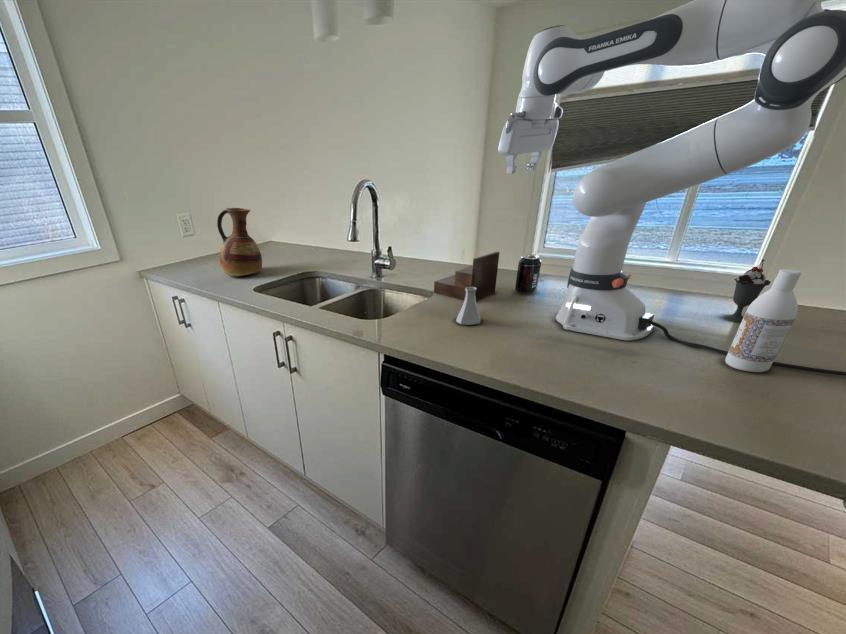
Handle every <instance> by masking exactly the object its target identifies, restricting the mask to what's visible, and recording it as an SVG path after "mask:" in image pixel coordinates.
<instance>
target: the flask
mask: <svg viewBox="0 0 846 634" xmlns="http://www.w3.org/2000/svg"><path fill="white" fill-rule="evenodd" d="M476 290H477V288H476V287H466V288H465V291H466V296H465V300H463V303H462V307H461V308H460V310H459V312H458V315H457V317H456V320H455V322H456V323H458V324H460V325H468V326H473V325H479V324H481V321H482V319H481V318H482V317H481V316H480V312H479V308H478V305H477V300H476V298H475V291H476Z"/></svg>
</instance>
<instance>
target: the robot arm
mask: <svg viewBox="0 0 846 634" xmlns="http://www.w3.org/2000/svg"><path fill="white" fill-rule="evenodd" d="M751 54H759V55H762V56H764V57H763V60H762V62H761V65H760V68H759V73H758V79H757V84H756V88H755V92H754V96H753V100H751V101H750V102H748V103H746V104H744V105H743V106H741V107H738V108H737V109H734V110H732V111H729V112H727V113H725V114H723V115H721V116H718V117H715V118H713V119H711V120H709V121H706V122H705V123H702V124H699V125H698V126H696V127H693V128H691V129H689V130H687V131H684V132H682V133H680V134H678V135H675V136H673V137H671V138H668V139H666V140H664V141H661V142H658V143H655V144H653V145H650V146H647V147H645V148H643V149H640V150H638V151H635V152H633V153H630V154H628V155H626V156H623V157H620V158H618V159H616V160H614V161H610V162H609V163H606V164H604V165H602V166H599V167H597V168H595V169H594V170H592V171H590V172H588V174H586V175H585V176H583V177H582V178H581V179H580V180H579V181H578V183H577V184H576V186H575V188H574V191H573V193H572V194H573V195H572V196H573V197H572V201H573V206H574V208H575V209H576V211H577V212H578V213H580V214H581V215H582V216H586V217H590V218H589V219H588V222H587V225H586V226H585V228H584V230H583V231H582V233H581V234H580V236H579V238H578V240H577V246H576V251H575V255H574V260H573V265H572V267H571V268H570V270H569V274H568V279H567V285H566V288H567V290H566V293H565V296H564V299H563V302H562V305H561V307H560V308H559V311H558V312H557V314H556V316H555V320H556V321H557V322H558V324H561V325H562V328H563V329H564V330H566V331H571V332H578V333H584V334H588V335H592V336H593V335H594V336H598V337H604V338H610V339H616V340H621V341H627V342H629V341H636V340H639V339H643V338H645V337H647V336H649V335H650V334H651V333H652V332H653V330H654V327H657V328H658V329H660V330H661V331H663V334H664V335H665V337H666V338H667V339H669V340H671V341H673V342H676V343H678V344H679V343H680V344H683V345H685V346H689V347H694V348H700V349H703V350H707V351H710V352H714V353H719V354H722V355H725V356H727V354H728V352H729V350H724V349H721V348H716V347H712V346H709V345H705V344H700V343H695V342H689V341H685V340H681V339H679V338H677V337H675V336H673V335H671V334H670V333H669V330H668V329H667V328H666V326H664V325H662V324H660V323H658V322H655V321H653V320H654V318H655V314H654V313H650V312H647V309H646V304H645V303H644V302H643V301H642V300H641V299H640V298H638V296H636V295H635V294H634V293H633V292H632V291H631V289H629V288H628V287H627V284H628V281H629V280H631V278H632V277H631V276H632V274H628V275H627V274H626V273H625V271H623V267H624V263H625V260H626V255H627V252H628V248H629V246H630V242H631V239H632V236H633V234H634V231H635V230H636V227H637V225H638V223H639V221H640V219H641V216H642V214H643V212H644V209H645V207H646V204H647V203H649V202H651V201H656V200H658V199H661V198H663V197H667V196H670V195H672V194H675V193H679V192H681V191H684V190H687V189H689V188H693V187H695V186H698V185H701V184H704V183H707V182H710V181H713V180H715V179H719V178H721V177H724V176H727V175H730V174H732V173H735V172H738V171H741V170H743V169H746V168H748V167H750V166H753V165H755V164H758V163H760V162H762V161H765V160H767V159H769V158H771V157H773V156H776V155H777V154H779V153H781V152H783V151H785V150H787V149H789V148H791V147H793V146H795V145H796V144H798V143H799V142H800V141H801V140H802V139H803V137H804V136H805V135H806V134H807V132H808V129H809V128H810V126H811V122H812V104H813V102H814V100H815V98H816V97H817V96H818V95H819V94H820V93H821V92H822V91H824V90H825V89H827V88H830V87H831V86H833V85H835V84H837V83H839V82H840V81H842V80H843V79H845V78H846V10H845V9H844V10H843V9H828V8H825V9H823V8H822V0H691V1H689V2H687V3H684V4H682V5H680V6H677V7H675V8H673V9H671V10H669V11H666V12H663V13H661V14H659V15H656V16H654V17H652V18H650V19H647V20H644V21H641V22H637V23H634V24H632V25H628V26H625V27H623V28H619V29H615V30H613V31H609V32H606V33H602V34H600V35H597V36H593V37H590V38H584V37H581V36H579V35H578V34H576V33H574V31H572V30H571V29H570V27H569V26H567V25H564V24H562V25H561V24H558V25H554V26H550V27H546V28H544V29H542V30H540V31H538V32H537V33H536V34H535V35H534V36H533V38H532V40H531V41H530V44H529V46H528V49H527V53H526V57H525V61H524V67H523V71H522V75H521V78H522V79H521V80H522V81H521V82H522V84H521V89H520V92H519V94H518V98H517V103H516V105H515V111H513V112H512V113H510V115H509V117H508V118H507V119H506V122H505V123H504V125H503V127H502V131H501V134H500V139H499V143H498V147H497V152H498V155H500V156H506V157H505V161H506V166H507V167H506V174H509V175H512V174H515V173H516V171H517V166H516V160H517V156H518V155H522V154H531V156H532V157H531V159H530V161H529V162H527V167H526V170H527V171H535V170H536V169H537V164H538V162H539V161H540V159H541V157H542V154H543V152H547V151H550V150H551V149H552V147H553V146H554V143H555V141H556V137H557V134H558V133H557V132H558V129H559V119H562V116H563V113H564V109H563V108H562V107H561V106H560V105H559V104H558V103H557V102H556V98H557V96H558V95H577V94H582V93H585V92H588V91H590V90H591V89H592V88H594V87H595V86H596V85H597V84H598V83H599V82H600V80H601V79H602V78H603V76H604V74H605V72H609V71H612V70H615V69H620V68H623V67H624V68H625V67H628V66H636V65H637V66H638V65H652V66H662V67H663V66H664V67H673V68H683V67H695V66H702V65H708V64H713V63H717V62H722V61H725V60H729V59H732V58H736V57H741V56H745V55H751ZM771 366H774V367H781V368H784V369H785V368H786V369H793V370H799V371H806V372H812V373H820V374H827V375H836V376H843V377H844V376H845V377H846V371H841V370H833V369H825V368H819V367H811V366H804V365H799V364H798V365H797V364H790V363H783V362H778V361H773V363H772V365H771Z"/></svg>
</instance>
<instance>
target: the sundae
mask: <svg viewBox="0 0 846 634" xmlns="http://www.w3.org/2000/svg"><path fill="white" fill-rule="evenodd" d="M765 261H766V259H761V262H760V264H761V267H760V268H759V266H760V264H758V265H757V266H752V267H751V268H750V269H749V270H746V271H745V272H744V273H743V274H742V275H739V276H738V277H735V278H734V279H733V280H734V282H735V288H734V293H733V297H732V301H733V303H734V304H735V305H736V306H737V307H736V310H735V311H734V313H733V314H727V315H726V314H725V315H724V316H722V318H723V319H724V320H726V321H729V322H732V323H733V322H734V323H741V322H742V320H743V317H744V315H742V313H743V310H744V308H746V307H749V306H750V304H751V303H752V302H753V301H754V300H755V299H756V298H758V297H759V296H760V295H761V293H762V291H763V290H764V288H765V287H767V286H769V285H771V281H770V280H769V279H766V276H765V274H764V273H763V272H764V268H763V267H764V262H765Z"/></svg>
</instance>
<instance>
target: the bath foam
mask: <svg viewBox="0 0 846 634" xmlns="http://www.w3.org/2000/svg"><path fill="white" fill-rule="evenodd" d="M801 275H802V271H801V270H798V269H790V268H784V269H783V268H782V269H779V270H778V274H777V275H776V277H775V279H774V281H773V283H772V286H771V288H770V289H768V290H767V291H765V292H764V293H762V294H760V295H759V296H758V297H757V298H756V299H755V300H754V301H753V302H752V303H751V304H750V305H748V306H747V309H746V310H745V313H744V315H743V320H742V322H740V325H739V326H738V329H737V331H736V334H735V335H734V338H733V340H732V343H731V345H730V347H729V349H728V354H727V355H725V358H724V362H725V363H726V365H728V366H729V367H731V368H733V369H736V370H739V371H743V372H747V373H749V372H750V373H764V372H767V371H769V370H770V368H771V367H772V366H773V365H772V363H773V362H775V359H776V358H777V355H778V354H779V352H780V349H781V348H782V346H783V344H784V341H785V340H786V337H787V336H788V333H789V332H790V330H791V328H792V326H793V324H794V322H795V320H796V318H797V315H798V311H799V306H798V301H797V298H796V296H795V293H794V289H795V287H796V285H797V283H798V281H799V280H800V276H801Z"/></svg>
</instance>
